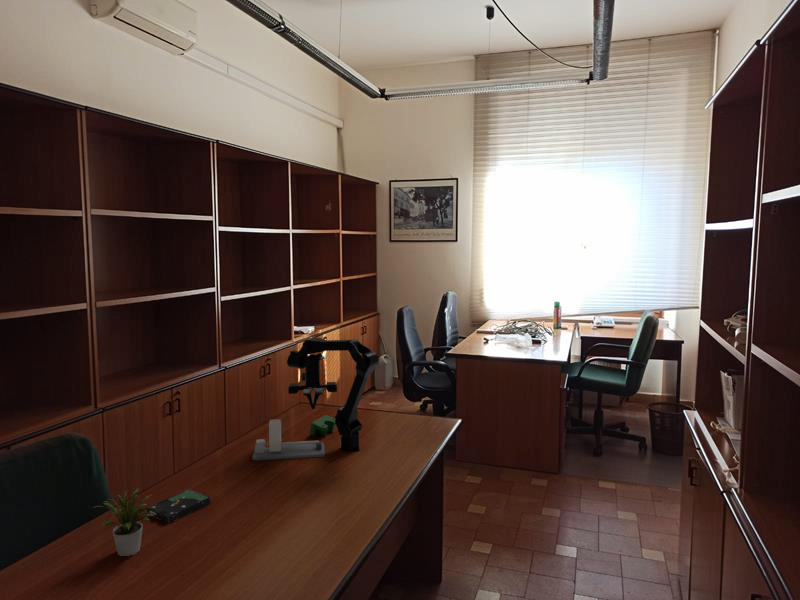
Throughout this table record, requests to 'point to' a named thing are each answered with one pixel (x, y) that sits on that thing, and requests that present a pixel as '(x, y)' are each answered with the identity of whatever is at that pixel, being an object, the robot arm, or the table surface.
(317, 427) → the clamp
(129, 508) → the house plant
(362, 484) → the table surface
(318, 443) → the flat grey panel
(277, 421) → the stepped pale block
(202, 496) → the disk drive
